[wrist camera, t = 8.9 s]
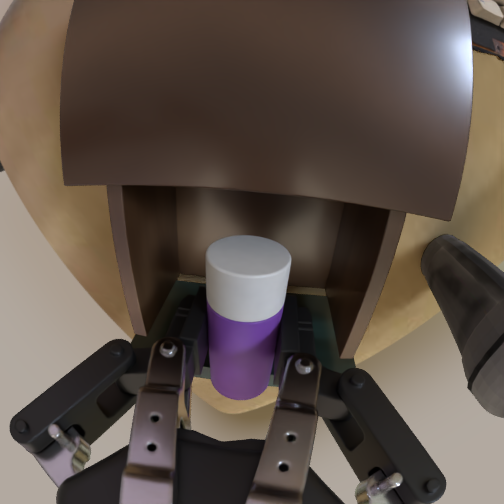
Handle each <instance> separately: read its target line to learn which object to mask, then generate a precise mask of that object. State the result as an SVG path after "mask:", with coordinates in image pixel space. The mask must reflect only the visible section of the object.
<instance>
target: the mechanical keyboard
mask: <svg viewBox="0 0 504 504" xmlns="http://www.w3.org/2000/svg"><path fill="white" fill-rule="evenodd" d="M467 5H468V11H469V17H470V25H471V35H472V48H473V49H474V50H476V51H478V50H480V51H481V52H482V53H490V54H493V55H496V56H499V57H500V58H501V59H502V60H504V0H467ZM480 51H479V52H480Z"/></svg>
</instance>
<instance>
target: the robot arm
mask: <svg viewBox="0 0 504 504" xmlns="http://www.w3.org/2000/svg"><path fill="white" fill-rule="evenodd" d="M208 347H209V342H208V322H207V296H206V286H203V285H200V287H199V289H198V291H197V294H196V295H191V294H188V295H187V296H186V297H185V298H183V299H182V300H181V302H180V304H179V306H178V309H177V311H176V313H175V315H174V317H173V319H172V322H171V324H170V326H169V328H168V330H167V333H166V335H165V337H164V338H161V339H159V340H157V341H156V342H155V343H154V344H153V346H152V347H148V348H133V347H132V345H131V344H130V343H129V342H128V341H126V340H123V339H115V340H112V341H109V342H108V343H107V344H105V345H104V346H103V347H101V348H100V349H99V350H97V351H96V352H95V353H93V354H92V355H91V356H90V357H88V358H87V359H86V360H84V361H83V362H82V363H81V364H79V365H78V366H77V367H75V368H74V369H73V370H72V371H70V372H69V373H68V374H66V375H65V376H64V377H63V378H61V379H60V380H59V381H57V382H56V383H55V384H54V385H53V386H51V387H50V388H49V389H47V390H46V391H45V392H44V393H42V394H41V395H40V396H38V397H37V398H36V399H35V400H34V401H32V402H31V403H30V404H29V405H27V406H26V407H25V408H23V409H22V410H21V411H20V412H18V413H17V414H16V415H15V416H14V417H13V418H12V420H11V422H10V433H11V435H12V437H13V439H14V440H16V441H17V442H18V443H19V444H20V445H22V446H23V447H24V448H25V449H26V450H27V451H28V452H30V453H31V454H32V455H33V456H34V457H35V458H36V460H37V461H38V463H39V464H40V465H41V467H42V468H43V469H44V471H45V472H46V473H47V475H48V476H49V477H50V478H51V480H52V481H53V482H54V483H55V485H56V486H57V487H58V491H57V497H56V503H57V504H344V503H343V502H342V500H341V499H340V498H339V497H338V496H337V495H336V494H335V493H334V492H333V491H332V490H331V489H330V488H329V487H328V486H327V485H326V484H325V483H324V482H323V481H322V480H321V478H320V477H319V476H318V475H317V474H316V473H315V472H314V471H313V470H312V469H311V467H310V466H309V465H310V460H311V455H312V450H313V444H314V439H315V433H316V427H317V421H318V416H320V417H322V418H323V420H324V422H325V424H326V425H327V427H328V429H329V431H330V432H331V434H332V436H333V437H334V439H335V440H336V442H337V444H338V446H339V447H340V449H341V451H342V452H343V454H344V456H345V457H346V459H347V461H348V462H349V464H350V466H351V467H352V469H353V470H354V472H355V474H356V475H357V477H358V479H359V481H360V483H359V484H358V486H357V488H356V491H355V497H356V500H357V503H358V504H431V503H433V502H435V501H437V500H439V498H441V496H442V495H443V494H444V492H445V489H446V479H445V477H444V475H443V474H442V472H441V471H440V469H439V468H438V467H437V465H436V464H435V463H434V461H433V460H432V459H431V457H430V456H429V454H428V453H427V451H426V450H425V448H424V447H423V446H422V445H421V443H420V442H419V440H418V439H417V437H416V436H415V435H414V433H413V432H412V431H411V429H410V428H409V427H408V425H407V424H406V422H405V421H404V420H403V418H402V417H401V416H400V415H399V413H398V412H397V410H396V409H395V408H394V406H393V405H392V404H391V403H390V401H389V400H388V398H387V397H386V396H385V394H384V393H383V392H382V390H381V389H380V388H379V386H378V385H377V384H376V382H375V381H374V380H373V378H372V377H371V376H370V375H369V374H368V373H367V372H366V371H364V370H362V369H359V368H350V369H347V370H345V371H344V372H343V373H339V372H336V371H332V370H329V369H327V368H325V367H324V366H323V365H322V364H321V363H320V361H319V360H318V359H317V357H316V349H315V340H314V332H313V324H312V316H311V313H310V312H309V311H308V309H307V308H306V307H299V306H297V297H296V296H295V295H286V296H285V302H284V307H283V313H282V317H281V322H280V327H279V333H278V338H277V343H276V348H275V355H274V380H273V385H279V393H278V397H277V400H276V404H275V408H274V411H273V415H272V418H271V422H270V425H269V429H268V432H267V435H266V439H265V440H257V439H246V440H236V441H225V442H223V441H218V440H216V439H213V438H211V437H208V436H206V435H203V434H201V433H199V432H196V431H194V430H191V419H190V418H191V394H192V381H193V377H194V375H200V376H201V373H202V369H203V365H204V362H205V358H206V354H207V351H208ZM134 404H135V410H134V416H133V422H132V428H131V435H130V442H129V444H128V445H127V446H125V447H123V448H122V449H120V450H118V451H117V452H115V453H113V454H112V455H110V456H108V457H106V458H105V459H103V460H101V461H99V462H97V463H95V464H94V465H92V466H90V467H88V468H86V469H84V465H85V463H86V462H87V461H89V459H90V454H91V448H90V445H91V444H92V443H93V442H94V441H96V440H97V439H98V438H99V437H100V436H101V435H102V434H103V433H104V432H105V431H106V430H108V429H109V428H110V427H111V426H112V425H113V424H114V423H115V422H116V421H117V420H118V419H119V418H121V417H122V416H123V415H124V414H125V413H126V412H127V411H128V410H129V409H130V408H131V407H132V406H133V405H134Z"/></svg>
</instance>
